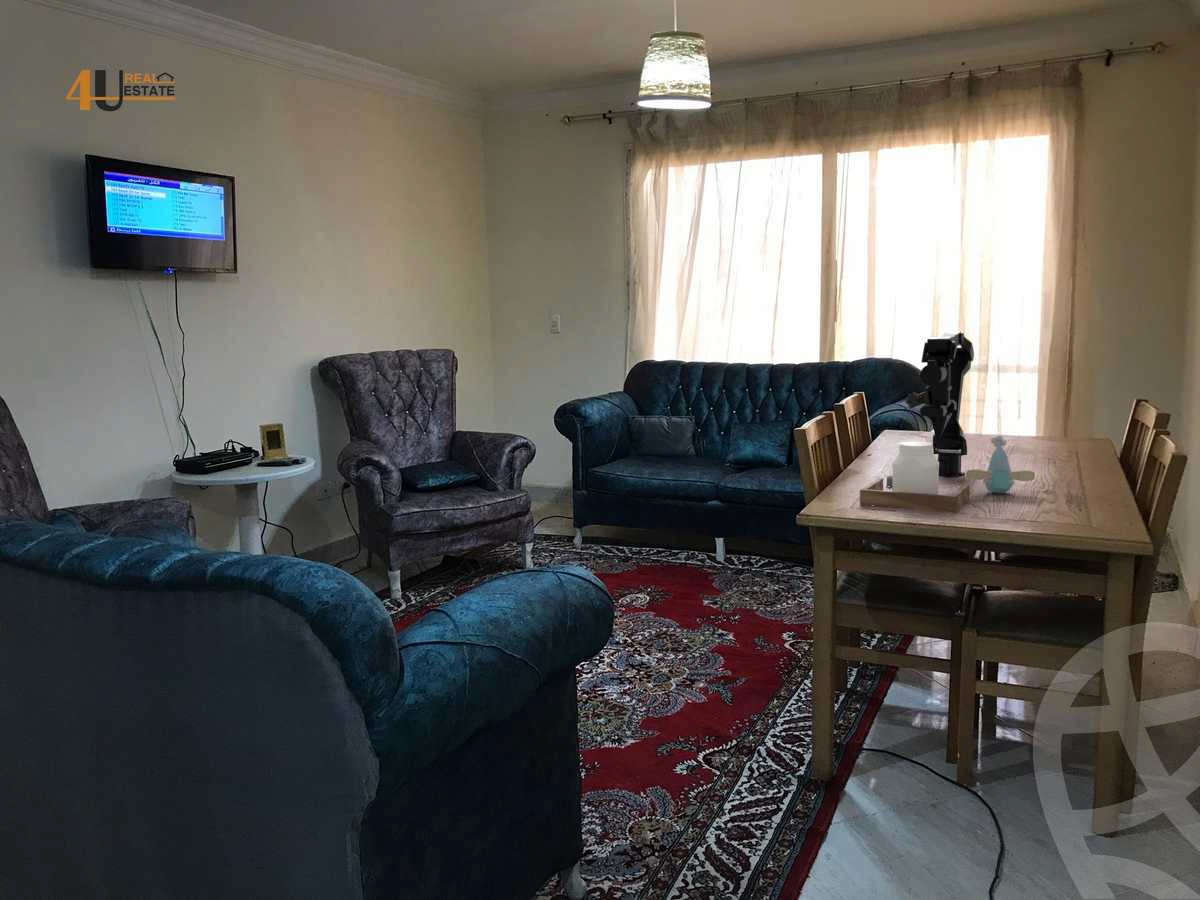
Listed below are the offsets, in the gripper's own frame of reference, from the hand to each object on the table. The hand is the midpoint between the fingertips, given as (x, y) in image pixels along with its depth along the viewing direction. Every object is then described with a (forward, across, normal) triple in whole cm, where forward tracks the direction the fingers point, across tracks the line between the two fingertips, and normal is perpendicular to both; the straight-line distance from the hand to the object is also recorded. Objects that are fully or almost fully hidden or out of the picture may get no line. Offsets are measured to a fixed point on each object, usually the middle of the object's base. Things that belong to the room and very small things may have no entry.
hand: (938, 438), depth 264 cm
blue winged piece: (+13, +6, +17) cm, 23 cm away
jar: (+13, +24, 0) cm, 28 cm away
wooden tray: (+13, +26, 0) cm, 29 cm away
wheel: (+13, +6, -9) cm, 17 cm away
